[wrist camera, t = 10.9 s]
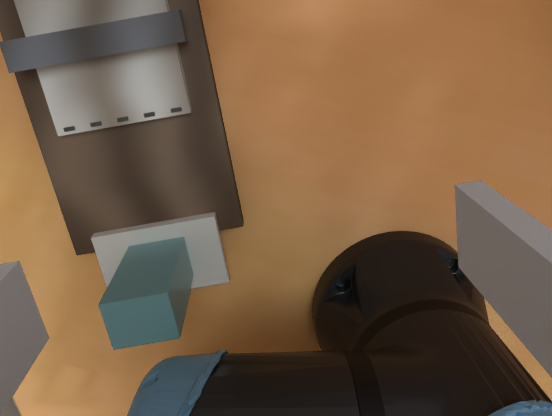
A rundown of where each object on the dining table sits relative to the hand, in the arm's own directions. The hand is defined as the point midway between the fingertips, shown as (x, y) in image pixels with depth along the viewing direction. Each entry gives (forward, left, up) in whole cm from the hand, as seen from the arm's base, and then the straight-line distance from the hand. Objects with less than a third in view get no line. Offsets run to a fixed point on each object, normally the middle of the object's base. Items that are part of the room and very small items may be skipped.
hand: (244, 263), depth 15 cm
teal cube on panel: (+9, +10, -25) cm, 29 cm away
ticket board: (+9, -1, -27) cm, 28 cm away
